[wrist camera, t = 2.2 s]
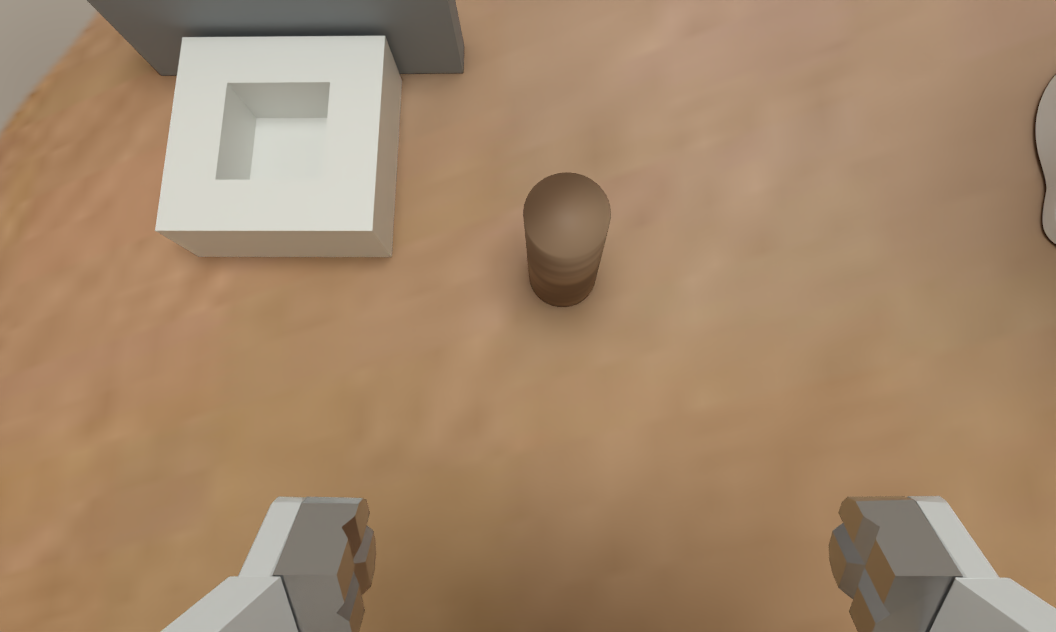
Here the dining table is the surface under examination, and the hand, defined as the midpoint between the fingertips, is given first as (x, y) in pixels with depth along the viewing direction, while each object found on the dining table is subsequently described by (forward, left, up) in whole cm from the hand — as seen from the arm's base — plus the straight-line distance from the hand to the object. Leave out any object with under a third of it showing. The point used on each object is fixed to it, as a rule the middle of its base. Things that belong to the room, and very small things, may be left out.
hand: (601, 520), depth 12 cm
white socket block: (+25, 0, -27) cm, 37 cm away
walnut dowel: (+9, -8, -27) cm, 29 cm away
